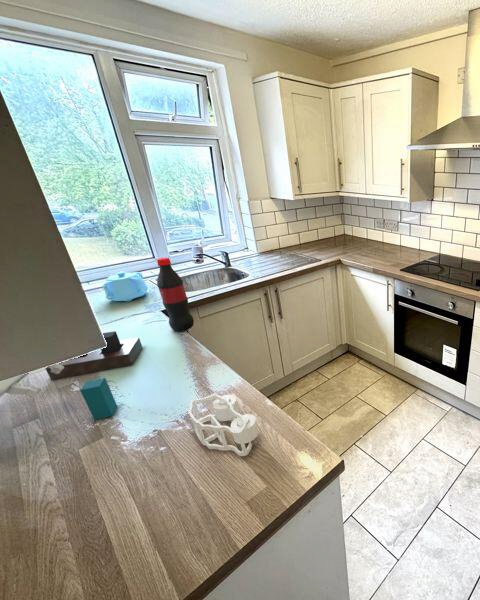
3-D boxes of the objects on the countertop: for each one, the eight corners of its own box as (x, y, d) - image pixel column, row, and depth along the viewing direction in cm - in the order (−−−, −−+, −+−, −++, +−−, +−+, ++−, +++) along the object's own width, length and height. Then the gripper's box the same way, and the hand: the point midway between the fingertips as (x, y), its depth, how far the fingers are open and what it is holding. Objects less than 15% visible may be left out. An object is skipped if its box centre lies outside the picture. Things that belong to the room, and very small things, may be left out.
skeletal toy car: (266, 442, 81) (262, 419, 78) (220, 471, 74) (213, 447, 71) (232, 405, 93) (227, 384, 91) (189, 426, 86) (182, 404, 83)
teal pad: (94, 420, 88) (79, 390, 84) (100, 410, 91) (86, 381, 87) (112, 415, 89) (99, 386, 85) (117, 406, 93) (105, 377, 89)
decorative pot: (114, 294, 169) (104, 269, 164) (151, 289, 176) (143, 265, 170) (104, 306, 156) (93, 279, 150) (145, 300, 162) (136, 274, 157)
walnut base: (51, 380, 104) (45, 368, 102) (69, 359, 114) (64, 348, 113) (132, 365, 111) (128, 354, 110) (142, 347, 122) (138, 337, 120)
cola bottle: (189, 321, 141) (170, 254, 129) (199, 327, 137) (179, 257, 125) (167, 329, 135) (145, 259, 123) (176, 335, 130) (154, 262, 119)
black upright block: (107, 364, 112) (96, 338, 108) (111, 358, 115) (101, 333, 111) (121, 361, 113) (111, 336, 109) (125, 355, 117) (115, 331, 113)
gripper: (6, 343, 86) (67, 367, 93) (-68, 391, 68) (14, 417, 75) (19, 325, 85) (80, 351, 92) (-52, 369, 68) (29, 397, 74)
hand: (50, 381), depth 83 cm, fingers open, 8 cm apart
